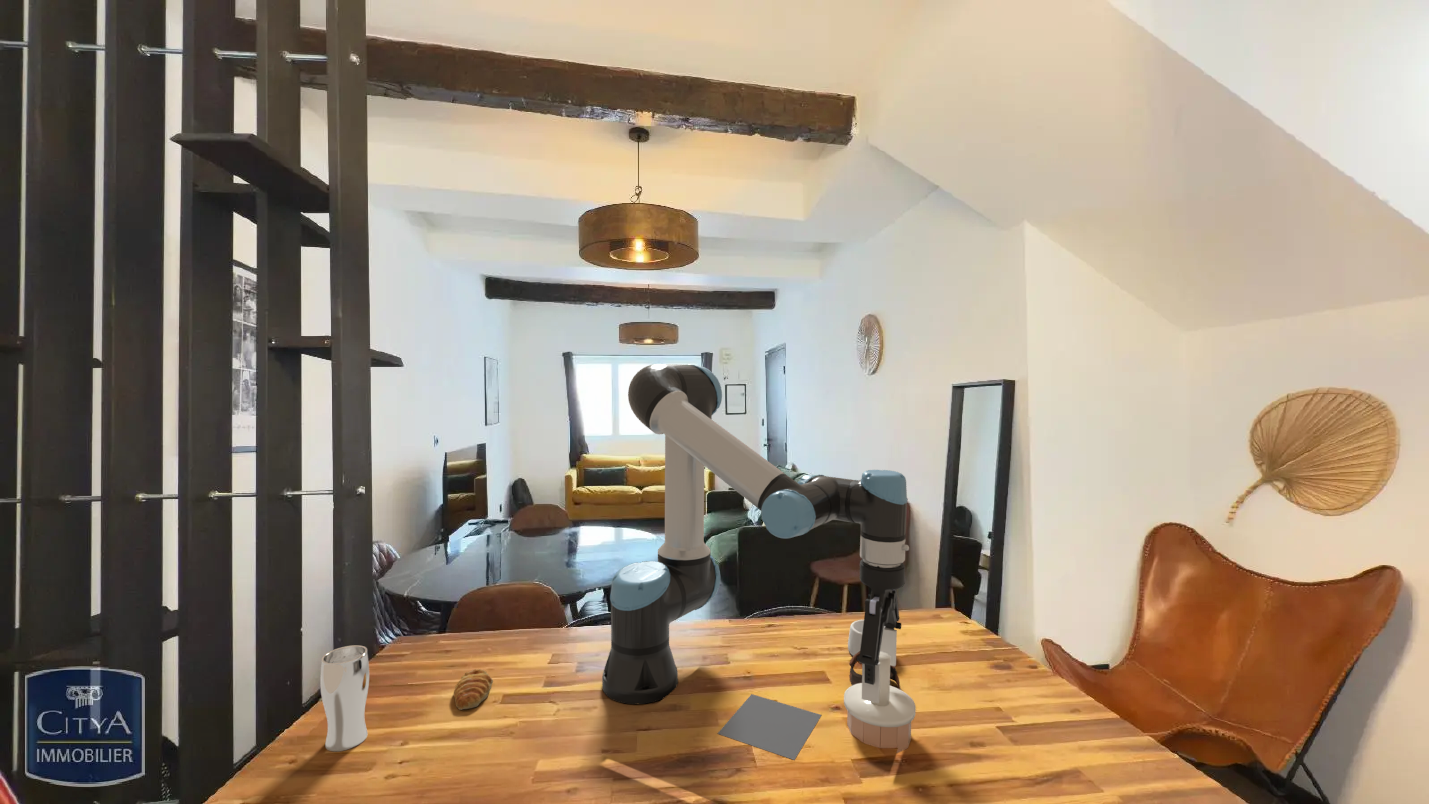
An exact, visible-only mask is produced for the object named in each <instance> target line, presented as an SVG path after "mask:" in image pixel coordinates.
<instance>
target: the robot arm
mask: <svg viewBox="0 0 1429 804" xmlns="http://www.w3.org/2000/svg"><path fill="white" fill-rule="evenodd" d="M627 397H628V403H629V407H630V408H631V411H632V412H633V414H634V416H635V417H636V418H637V419H638V421H640V423H642V424H643V425H644V426H645V427H646V428H647V429H648V430H650V431H651V432H652V433H654V434H657V435H663V434H664V543H663V544H662V545H661V546H660V547H659V548H658V549H657V561H654V560H645V561H642V562H634V563H630V564H628V565H625V566H624V567H622V568H620V569H619V570H618V571H617V572H616V573H615V574H614V575H613V577H612V579H611V590H610V595H609V600H610V630H611V631H610V632H611V633H610V644H611V645H610V650H609V653H608V656H607V659H606V662H605V666H604V669H603V671H602V679H601V680H602V681H601V685H602V686H601V687H602V691H603V692H604V693H603V694H604V695H606V696H607V697H608V698H609V699H611V700H612V701H615V702H618V703H623V704H627V705H644V704H651V703H654V702H657V701H661V700H663V699H664V698H667V697H668V696H669V694H672V692H673V691H674V690H675V689H676V688H677V686H678V682H679V681H678V680H679V678H678V675H679V673H678V667H677V665H676V662H675V659H674V656H673V652H672V649H671V646H670V624H671V623H672V622H675V621H676V620H678V619H680V618H682V617H684V616H686V615H687V614H689V613H691V612H693V611H697V610H699V609H702V608H703V607H704V606H706V605H707V604H708V603H709V602H711V601H712V600H713V599H714V598H715V597H716V595H717V593H718V591H719V589H720V585H721V571H720V567H719V564H717V563H716V560H715V558H714V557H713V555H711V548H710V547H709V546H708V545H707V544H706V543H705V541H704V537H705V535H704V533H705V532H704V531H705V526H704V525H705V524H704V523H705V522H704V521H705V467H706V468H707V469H708V470H709V471H710V472H711V473H713V474H714V475H715V476H716V477H718V478H719V479H720V480H721V481H723V482H724V483H725V484H726V485H728V486H730V488H732V489H733V490H734V491H735V492H737V493H738V494H739V495H741V496H742V497H743V498H744V499H746V500H747V501H748V502H750V503H751V505H753V506H755V508H757V509H758V510H759V511H760V513H761V520H762V522H763V524H764V526H765V528H766V530H767V531H768V532H769V533H770V534H771V535H773V536H775V537H777V538H780V539H791V538H794V537H798V536H802V535H805V534H807V533H808V532H810V531H811V530H813V529H814V528H817V527H820V526H822V525H824V524H827V523H829V522H831V521H841V522H848V523H853V524H859V525H860V537H859V538H860V539H859V540H860V542H859V545H860V546H859V557H860V559H861V560H859V581H860V582H861V584H863V585H865V586H867V587H869V588H870V589H871V591H870V593H869V594H868V595H867V598H866V599H865V600H864V606H865V607H864V616H863V620H864V624H863V632H862V640H861V648H860V656H857V662H859V664H862V665H861V666H862V667H861V668H862V669H861V675H862V699H864V700H868V701H871V702H875V703H879V695H880V662H879V654H880V651H881V652H885V653H887V654H889V655H890V665H891V666H894V667H896V665H897V634H898V631H897V630H901V629H902V622H899V621H900V612H899V611H900V610H899V599H898V589H901V588H902V587H904V585H905V583H906V565H905V564H904V562H905V561H906V552H907V551H910V547H909V545H908V544H906V537H907V536H906V535H907V532H906V531H907V512H908V509H907V508H908V506H907V505H908V502H909V500H908V495H907V491H908V490H907V479H906V476H905V475H904V474H903V473H902V472H898V471H895V470H888V469H868V470H865V471H863V473H862V474H861V478H860V479H858V480H857V479H850V478H842V477H837V476H835V477H834V476H828V475H824V474H805V475H803V476H802V477H801V478H800V479H799V480H798V481H796V480H794V479H793V478H791V477H790V476H788V474H786V473H785V472H784V471H782V470H780V469H779V468H777V467H776V466H775V465H774V464H772V463H771V462H770V461H768V460H767V459H765V457H763V456H762V455H760V454H759V453H758V452H756V451H755V450H753V449H752V448H751V447H750V446H748V445H746V443H744V442H743V441H741V440H740V439H738V438H737V437H736V436H735V435H733V434H732V433H731V432H729V431H728V430H727V429H725V428H724V427H722V426H721V425H720V424H719V423H717V422H715V421H714V419H713V418H712V416H713V415H714V414H715V413H717V412H718V409H719V408H720V407H721V404H722V399H723V391H722V387H721V384H720V381H719V379H718V377H717V376H716V375H715V374H714V373H713V372H712V371H711V370H710V369H708V368H707V367H704V366H700V365H696V364H690V363H689V364H688V363H687V364H665V363H653V364H649V365H647V366H645V367H643V368H641V369H640V370H638V371H637V372H636V374H635V375H634V376H633V377H632V379H631V381H630V383H629V386H628V393H627ZM884 626H885V627H884Z"/></svg>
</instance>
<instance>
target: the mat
mask: <svg viewBox="0 0 1429 804" xmlns="http://www.w3.org/2000/svg"><path fill="white" fill-rule="evenodd" d="M822 716H823V715H822V714H819V713H817V712H813V711H809V710H807V709H804V708H803V709H802V708H799V707H797V706H793V705H789V704H786V703H783V702H780V701H776V700H773V699H769V698H767V697H762V696H759V695H756V694H752V693H751V694H750V695H749V696H748V698H746V700H745V701H744V702H743V703H742V705H741V706H740V707H738V709H737V710H736V711H735V713H734V714H733V715H732V716H731V717H730V719H729V720H727V722H726V723H725V724H724V725H723V727H721V729H720V730H719V731H718V732H717V735H720V736H723V737H726V738H728V739H731V740H735V741H738V742H740V743H743V744H746V745H748V746H751V747H754V748H758V749H760V750H763V751H766V752H769V753H772V754H775V755H778V756H780V757H784V758H787V759H790V760H793V761H795V760H796V759H797V757H798V755H799V754H800V751H801V750H802V748H803V747H804V745H805V744H806V742H807V740H808V739H809V737H810V735H811V734H812V732H813V731H814V729H815V727H816V726H817V724H818V722H819V720H820V718H821V717H822Z"/></svg>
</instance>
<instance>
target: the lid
mask: <svg viewBox="0 0 1429 804" xmlns="http://www.w3.org/2000/svg"><path fill="white" fill-rule="evenodd" d="M879 662H880V695H879V703H875V702H871V701H868V700H864V699H862V683H859V684H855V685H851V686H849V687H848V688H847V689H846V690H845V691H844V692H843V693H844V694H843V704H844V707H845V709H846V710H847V711H848V712H849V713H850V714H851V715H853V716H854V717H855V718H857V719H859V720H861V721H863V722H865V723H868V724H871V725H875V726H880V727H899V726H903V725H906V724H908V723H910V722H911V723H912V721H913V720H914V719H915V716H916V711H917V710H916V703H915V701H914V700H913V698H912V697H911V696H910V695H909V693H906V692H905V691H903V690H902V689H901V688H900V689H898V688H897V687H896V686H892V685H891V679H890V655H889V654H887V653H885V652H881V651H880V654H879ZM847 711H846V712H847Z"/></svg>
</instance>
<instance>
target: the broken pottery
mask: <svg viewBox="0 0 1429 804" xmlns="http://www.w3.org/2000/svg"><path fill="white" fill-rule="evenodd" d="M857 656H860V651H859V652H858V653H856V654H855V655H854V656H853V655H852V657H851V658H850V661H849V666H850V669H849V675H848V676H849V682H850V684H851V686H853V685H855V684H859V683H862V673H861V674H860V673H857V672H856V671H855V669H854V668H855V665H856V664H857V662H858V661H857ZM891 680H892V681H893V682H895V683H896V688H898V689H900V690H901V685H900V678H899V675H898V673H897V669H896V666H891V665H890V681H891Z"/></svg>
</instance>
